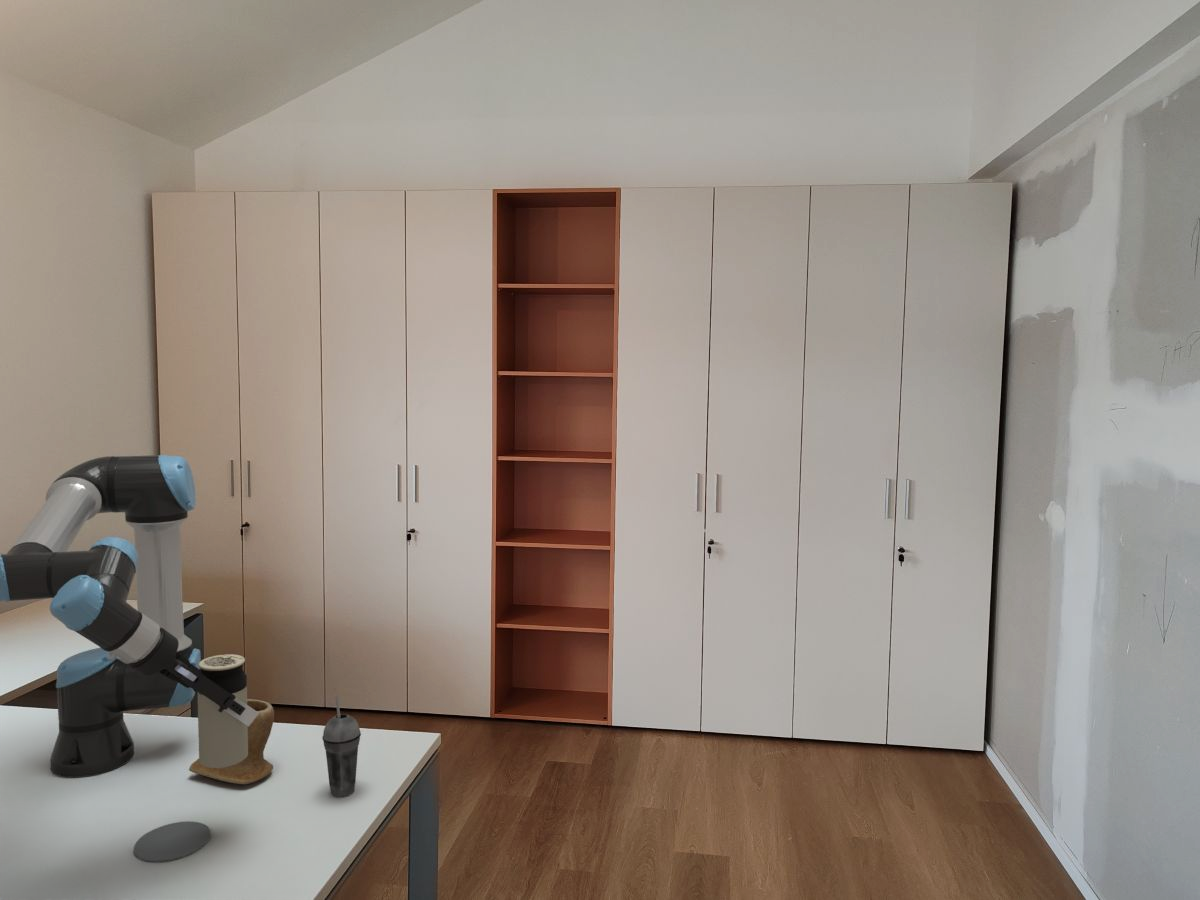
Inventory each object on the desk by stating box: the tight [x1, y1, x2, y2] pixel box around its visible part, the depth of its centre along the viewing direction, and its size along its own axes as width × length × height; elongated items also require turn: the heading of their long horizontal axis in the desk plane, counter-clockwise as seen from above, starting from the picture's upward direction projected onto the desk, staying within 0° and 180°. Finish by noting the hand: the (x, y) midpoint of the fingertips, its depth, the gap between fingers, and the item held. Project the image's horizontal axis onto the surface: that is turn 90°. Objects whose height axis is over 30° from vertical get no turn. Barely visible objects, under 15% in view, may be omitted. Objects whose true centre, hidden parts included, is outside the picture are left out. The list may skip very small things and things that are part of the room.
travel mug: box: [197, 653, 248, 768], centre depth 148 cm, size 8×8×18 cm
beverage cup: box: [321, 695, 362, 798], centre depth 164 cm, size 7×7×20 cm
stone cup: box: [188, 698, 275, 785], centre depth 171 cm, size 15×12×15 cm
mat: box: [133, 821, 212, 863], centre depth 147 cm, size 12×12×1 cm
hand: (241, 712), depth 151 cm, fingers closed on travel mug, 8 cm apart
